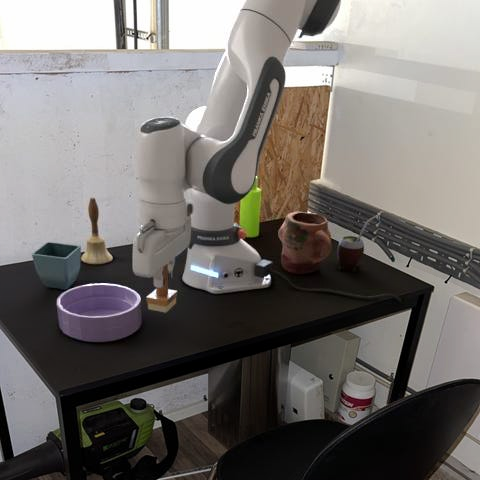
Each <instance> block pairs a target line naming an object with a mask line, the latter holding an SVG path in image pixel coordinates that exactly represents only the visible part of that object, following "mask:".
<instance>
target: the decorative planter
mask: <svg viewBox="0 0 480 480" xmlns="http://www.w3.org/2000/svg"><path fill="white" fill-rule="evenodd" d="M277 232H278V233H277V234H278V235H277V236H278V238H279V240H280V241H281V243H282V250H281V256H280V263H281V266H282V269H284V270H285V271H287V272H288V273H291V274H295V275H303V274H304V275H305V274H310V273H313V272H315V271H318V269H319V267H320V264H321V262H322V261H323V260H324V259H326V258H328V257H329V256H330V254H331V252H332V250H333V249H332V248H333V246H332V235H331V231H330V229H329V223H328V219H327V218H326V217H325V216H324V215H323V214H321V213H315V212H305V211H294V212H290V213H288V214H287V215H286V217H285V219H284V221H283V223H282V225H281V226H280V228H279V229H278V231H277Z"/></svg>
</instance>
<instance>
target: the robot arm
mask: <svg viewBox="0 0 480 480" xmlns="http://www.w3.org/2000/svg"><path fill="white" fill-rule="evenodd" d="M341 3H342V0H243V2H242V4H241V6H240V7H239V10H238V12H237V14H236V16H235V18H234V20H233V22H232V23H231V26H230V28H229V31H228V34H227V38H226V42H225V52H224V54H223V56H222V58H221V60H220V63H219V65H218V67H217V69H216V71H215V74H214V77H213V78H214V79H213V82H212V86H211V89H210V93H209V96H208V99H207V102H206V105H205V106H200V107H199V108H196V109H195V110H192V112H191V113H190V114H189V115H188V116H187V118H186V120H185V124H183V123H182V121H181V120H180V119H179V118H176V117H173V116H161V117H160V116H158V117H154V118H150V119H147V120H146V121H145V122H143V123H142V124H141V125H140V127H139V130H138V133H137V139H136V153H135V154H136V155H135V156H136V157H135V158H136V159H135V160H136V175H137V178H138V183H139V188H138V190H137V211H138V223H139V225H141V226H140V228H139V232H138V233H136V234H135V236H134V239H133V244H132V272H133V273H134V275H135V276H137V277H141V278H147V279H149V278H152V279H153V287H155V288H156V287H158V288H161V287H162V286H164V284H165V277H163V275H162V271H163V267H164V266H165V265H166V264H168V282H169V281H170V280H172V279H173V270H174V267H175V263H176V257H178V255H180V254H182V252H184V250H186V249H187V254H186V260H185V265H184V271H183V274H182V281H183V282H184V283H185V284H186V285H188V286H190V287H192V288H194V289H199V290H203V291H207V293H211V294H215V295H220V294H227V293H235V292H241V291H249V290H257V289H258V290H259V289H266V288H269V287H270V286H271V283H272V277H271V274H275V275H276V276H279V277H280V278H282V279H283V280H285V282H286V283H287V284H288V286H289V287H291V288H293V289H295V290H298V291H305V292H314V293H329V294H335V295H340V296H344V297H349V298H353V299H359V300H367V301H370V300H371V301H373V300H378V299H383V298H393V299H395V300H396V301H397V302H402V299H401V298H400V297H399V296H398V295H395V294H393V293H383V294H378V295H373V296H368V295H367V296H366V295H358V294H353V293H348V292H344V291H339V290H335V289H329V288H305V287H300V286H298V285H295V284H293V283H292V281H290V279H289V278H288V277H287V276H286V275H284V274H282V273H281V272H279V271H277V270H275V269H273V261H271V260H267V259H262V257H261V255H260V254H259V252H258V251H257V250H256V249H255V248H254V247H253V246H252V245H250V244H248V242H247V241H245V240H244V239H246V238H248V237H247V236H246V235H247V233H246V232H245V230H244V229H242V228H241V226H240V224H238V222H235V210H236V209H235V208H236V203H238V202H241V199H243V198H244V197H245V196H246V195H247V194H248V193H249V192H250V191H251V189H252V187H253V185H254V183H255V180H256V176H257V177H258V169H259V164H260V160H261V157H262V154H263V150H264V148H265V145H266V143H267V139H268V136H269V133H270V131H271V128H272V125H273V123H274V120H275V117H276V114H277V111H278V108H279V107H280V103H281V100H282V97H283V93H284V89H285V85H286V80H287V79H286V77H287V75H286V70H285V67H284V65H285V60H286V57H287V54H288V52H289V50H290V48H291V46H292V44H293V41H294V39H295V37H296V35H297V32H298V30H300V32H299V33H298V36H297V38H298V39H302V38H303V36H304V37H305V36H306V37H314V36H319V35H322V34H323V33H324V31H326V30H327V29H328V28H329V27H330V26H331V25H332V24H333V23H334V21H335V20H336V18H337V16H338V14H339V11H340V8H341V5H342V4H341ZM187 190H188V191H187ZM186 192H188V200H187V201H186V198H187V197H186ZM394 384H395V382H394V381H392V382H390V384H389V389H388V394H387V399H386V404H385V406H386V405H387V404H389V405H390V403H391V397H392V392H393V388H394Z"/></svg>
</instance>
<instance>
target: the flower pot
mask: <svg viewBox="0 0 480 480" xmlns="http://www.w3.org/2000/svg"><path fill="white" fill-rule="evenodd" d="M31 257H32V261H33V264H34V267H35V270H36V271H35V272H36V273H37V275H38V277H39V279H40V281H41V282H42V283H43V284H44V285H45V286H46V287H47V288H50V289H51V288H52V289H59V290H69V289H70V287H71V286H72V285H73V284H74V283H75V282H76V280H77V277H78V275H79V272H80V269H81V262H82V260H81V257H82V247H81V245H78V244H68V243H63V242H62V243H60V242H54V241H46V242H45V243H43V244H42V245H41V246H40V247H38V248H37V249H36V250H34V251H33V252H32V253H31Z"/></svg>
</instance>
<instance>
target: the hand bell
mask: <svg viewBox="0 0 480 480" xmlns="http://www.w3.org/2000/svg"><path fill="white" fill-rule="evenodd" d="M87 211H88V217H89V219H90V225H91V236H90V237H87V239H86V248H85V252H84V253H83V254H81V262H83V263H85V264H89V265H103V264H108V263H111V262H112V261H113V256H112V254H111V253H110V252H109V251H108V248H107V247H106V242H105V239H104V238H103V237H102V236H100V235H99V226H98V224H99V223H98V221H99V217H100V213H99V205H98V203H97V201H96V197H90V198H89V203H88V208H87Z"/></svg>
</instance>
